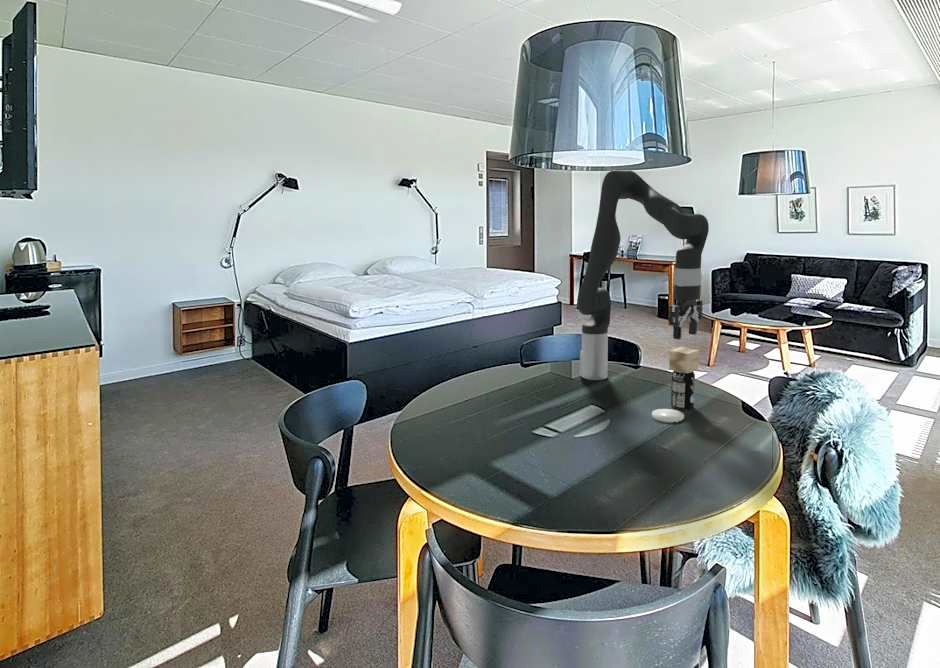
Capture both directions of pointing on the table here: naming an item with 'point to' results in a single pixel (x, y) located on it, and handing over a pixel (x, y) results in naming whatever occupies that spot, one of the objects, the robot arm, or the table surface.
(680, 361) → the oak cube
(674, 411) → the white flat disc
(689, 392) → the beverage can
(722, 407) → the table surface
